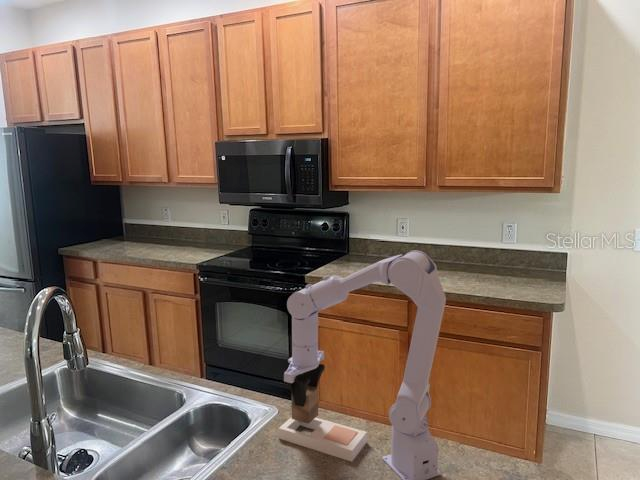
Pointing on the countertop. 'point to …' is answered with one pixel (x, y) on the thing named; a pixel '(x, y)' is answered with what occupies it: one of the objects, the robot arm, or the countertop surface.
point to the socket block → (325, 437)
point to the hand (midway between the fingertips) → (305, 400)
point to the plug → (306, 406)
